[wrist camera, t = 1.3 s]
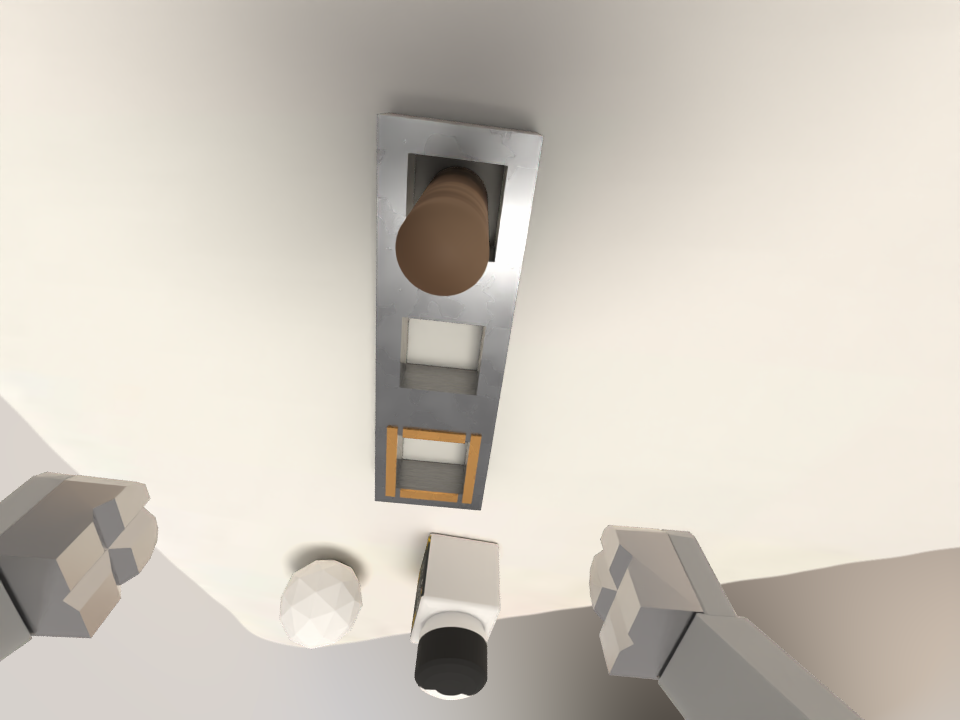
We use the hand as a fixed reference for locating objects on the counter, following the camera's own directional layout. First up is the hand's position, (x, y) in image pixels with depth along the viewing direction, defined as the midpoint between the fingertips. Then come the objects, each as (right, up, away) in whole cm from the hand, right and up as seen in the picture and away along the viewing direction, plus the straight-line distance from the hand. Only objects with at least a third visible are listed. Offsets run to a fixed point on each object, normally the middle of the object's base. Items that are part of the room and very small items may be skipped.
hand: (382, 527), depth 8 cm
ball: (-14, -19, +40) cm, 47 cm away
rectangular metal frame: (-1, +5, +26) cm, 27 cm away
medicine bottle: (0, -18, +40) cm, 43 cm away
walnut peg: (0, +14, +22) cm, 25 cm away
